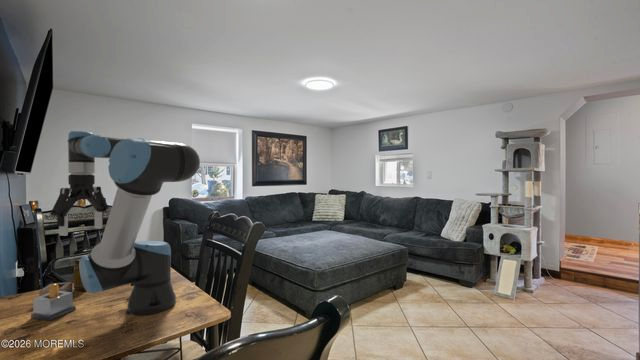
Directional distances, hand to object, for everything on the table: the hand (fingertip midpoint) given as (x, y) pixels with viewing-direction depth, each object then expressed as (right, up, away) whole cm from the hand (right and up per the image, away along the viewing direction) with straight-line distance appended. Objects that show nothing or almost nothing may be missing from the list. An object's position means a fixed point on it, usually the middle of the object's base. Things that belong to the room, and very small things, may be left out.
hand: (82, 231), depth 109 cm
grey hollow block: (-2, -25, -9) cm, 27 cm away
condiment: (-9, -26, +12) cm, 30 cm away
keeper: (-2, -26, -9) cm, 28 cm away
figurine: (+15, -26, +11) cm, 32 cm away
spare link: (-11, -26, +2) cm, 28 cm away
